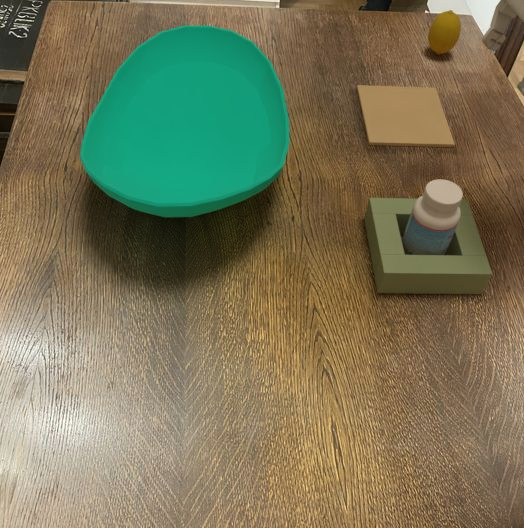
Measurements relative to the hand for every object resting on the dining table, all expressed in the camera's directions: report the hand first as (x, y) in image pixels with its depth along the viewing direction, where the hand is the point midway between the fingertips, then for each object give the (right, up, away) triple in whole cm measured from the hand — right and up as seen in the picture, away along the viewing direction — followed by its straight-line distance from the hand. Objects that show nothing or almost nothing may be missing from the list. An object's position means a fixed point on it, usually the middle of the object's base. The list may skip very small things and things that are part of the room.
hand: (505, 69), depth 68 cm
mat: (-4, +8, +34) cm, 35 cm away
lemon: (+6, +24, +46) cm, 52 cm away
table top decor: (-38, -7, +22) cm, 44 cm away
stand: (-6, -18, +15) cm, 25 cm away
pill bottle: (-6, -19, +16) cm, 25 cm away
